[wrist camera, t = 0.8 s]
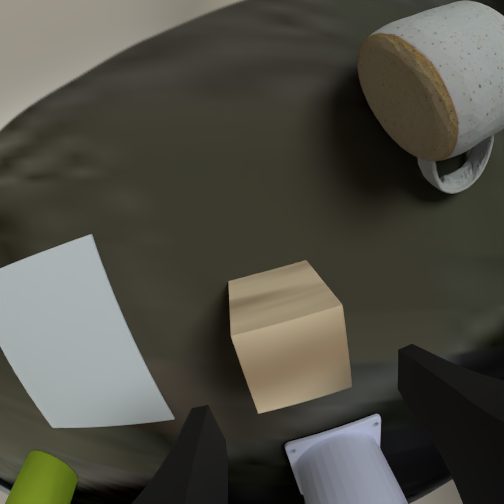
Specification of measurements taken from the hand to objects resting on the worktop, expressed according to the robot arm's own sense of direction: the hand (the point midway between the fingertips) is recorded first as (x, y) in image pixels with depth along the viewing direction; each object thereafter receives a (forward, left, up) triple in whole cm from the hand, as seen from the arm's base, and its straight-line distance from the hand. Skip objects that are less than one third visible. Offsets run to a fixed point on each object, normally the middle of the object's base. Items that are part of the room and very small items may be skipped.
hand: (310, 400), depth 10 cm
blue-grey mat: (0, +15, -8) cm, 17 cm away
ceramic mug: (+10, -12, -9) cm, 18 cm away
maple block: (0, 0, -8) cm, 8 cm away
